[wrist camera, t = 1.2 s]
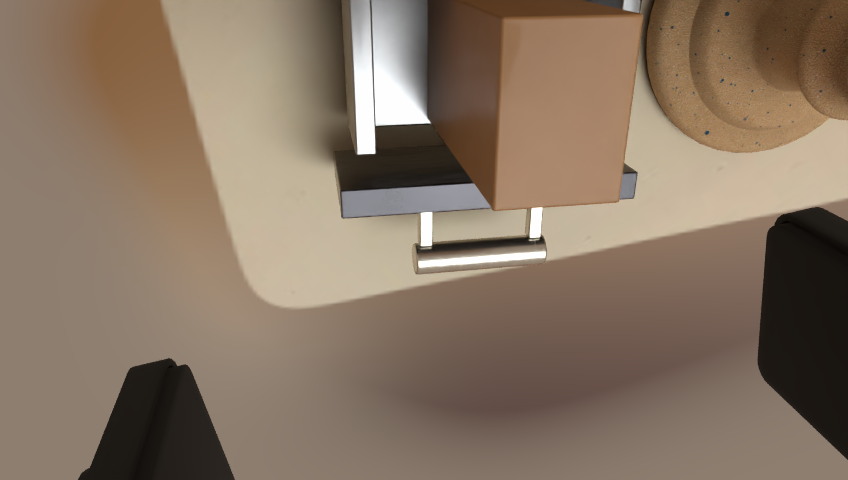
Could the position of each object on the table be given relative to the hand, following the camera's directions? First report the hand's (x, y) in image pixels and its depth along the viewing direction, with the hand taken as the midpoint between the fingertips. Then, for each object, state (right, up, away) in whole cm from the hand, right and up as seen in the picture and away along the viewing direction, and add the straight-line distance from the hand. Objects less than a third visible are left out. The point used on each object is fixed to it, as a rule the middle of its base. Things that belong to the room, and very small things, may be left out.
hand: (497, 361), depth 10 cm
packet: (+1, +10, +18) cm, 21 cm away
